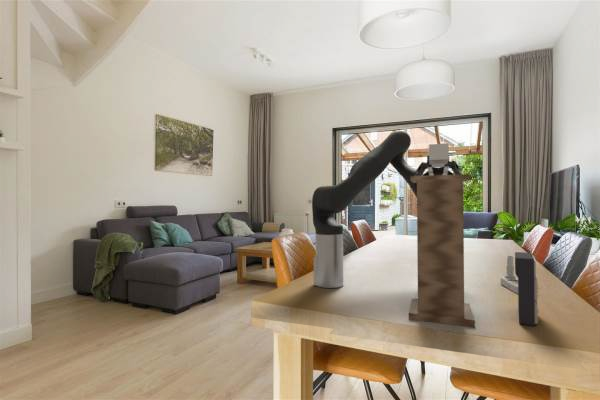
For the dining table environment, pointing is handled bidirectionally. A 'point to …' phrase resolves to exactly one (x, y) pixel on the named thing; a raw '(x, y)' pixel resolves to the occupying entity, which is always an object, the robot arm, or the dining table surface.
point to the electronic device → (510, 276)
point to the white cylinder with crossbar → (438, 154)
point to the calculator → (526, 288)
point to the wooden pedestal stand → (440, 251)
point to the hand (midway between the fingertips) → (438, 155)
